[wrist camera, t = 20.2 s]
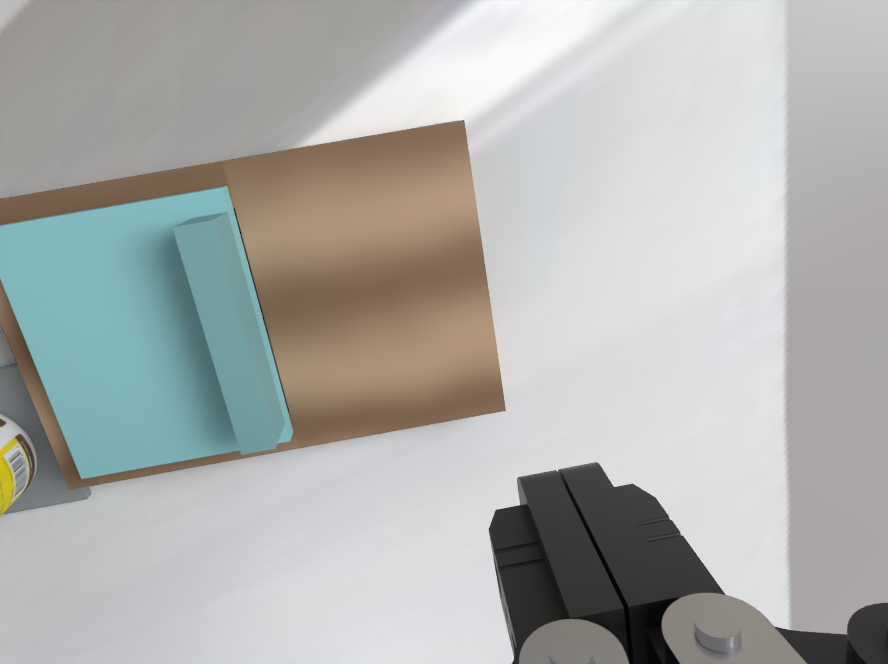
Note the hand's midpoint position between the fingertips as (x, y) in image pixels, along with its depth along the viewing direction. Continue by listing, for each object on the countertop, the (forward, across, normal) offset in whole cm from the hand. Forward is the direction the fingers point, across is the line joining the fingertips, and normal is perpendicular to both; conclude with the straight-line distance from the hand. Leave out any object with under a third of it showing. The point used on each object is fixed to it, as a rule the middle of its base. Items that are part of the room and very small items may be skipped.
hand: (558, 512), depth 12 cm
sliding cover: (+18, +14, 0) cm, 23 cm away
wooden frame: (+22, +10, 0) cm, 24 cm away
